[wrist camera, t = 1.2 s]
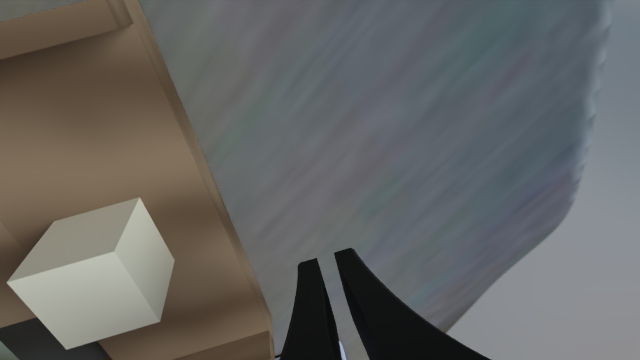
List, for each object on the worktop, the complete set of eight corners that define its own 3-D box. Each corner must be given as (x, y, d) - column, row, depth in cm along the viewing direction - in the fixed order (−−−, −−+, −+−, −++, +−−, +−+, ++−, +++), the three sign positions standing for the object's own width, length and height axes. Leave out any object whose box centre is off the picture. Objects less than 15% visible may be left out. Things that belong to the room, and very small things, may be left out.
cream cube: (174, 260, 19) (160, 321, 16) (98, 282, 19) (66, 349, 16) (139, 197, 17) (114, 251, 14) (53, 221, 17) (6, 282, 14)
